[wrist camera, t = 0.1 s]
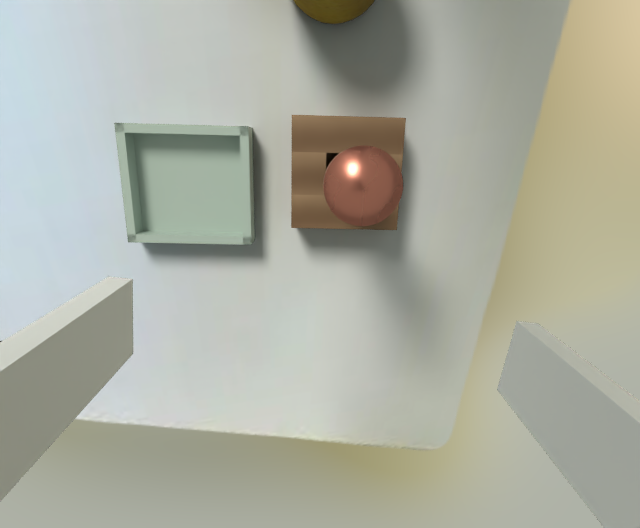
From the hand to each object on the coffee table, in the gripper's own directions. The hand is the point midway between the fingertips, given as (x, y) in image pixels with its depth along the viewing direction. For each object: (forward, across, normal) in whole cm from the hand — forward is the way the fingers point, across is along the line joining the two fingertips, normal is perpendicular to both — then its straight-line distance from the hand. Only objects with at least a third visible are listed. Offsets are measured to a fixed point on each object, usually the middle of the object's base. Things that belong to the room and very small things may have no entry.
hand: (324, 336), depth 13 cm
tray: (+28, -13, +1) cm, 30 cm away
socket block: (+28, +2, +4) cm, 28 cm away
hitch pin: (+27, +2, +4) cm, 28 cm away
